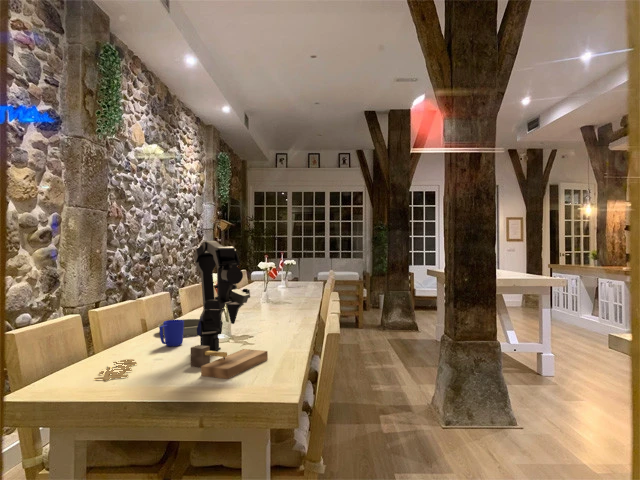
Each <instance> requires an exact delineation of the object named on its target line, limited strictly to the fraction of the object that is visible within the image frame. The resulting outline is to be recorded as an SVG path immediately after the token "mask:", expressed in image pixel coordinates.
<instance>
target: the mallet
mask: <svg viewBox="0 0 640 480" xmlns="http://www.w3.org/2000/svg"><path fill="white" fill-rule="evenodd" d="M226 356H228V352H227V351H226V352H225V351H218V350H216V351H210V346H202V345H201V344H197V345H193V346H191V347H190V367H193V368H200V369H201V366H203V365H205V364H208V363H210V362H211V357H220V358H223V359H225V357H226Z"/></svg>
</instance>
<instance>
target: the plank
mask: <svg viewBox="0 0 640 480" xmlns="http://www.w3.org/2000/svg"><path fill="white" fill-rule="evenodd" d="M268 357H269V355H268V350H260V349H249V348H248V349H247V348H242V349H240V350H238V351H235V352H232V353H230V354H227V356H226V357H225V359H223V357H220V358H218V359H215V360H213V361H210V363H208V364H205V365H203V366H201V368H200V373H201V374H200V376H202V377H210V378H218V379H226V380H229V379H231V378H233V377H234V376H236V375H238V374H241V373H243V372H245V371H247V370H249V369H251V368H253V367H255V366H257V365H258V364H261V363H263V362H265V361H267V360H268Z"/></svg>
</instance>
